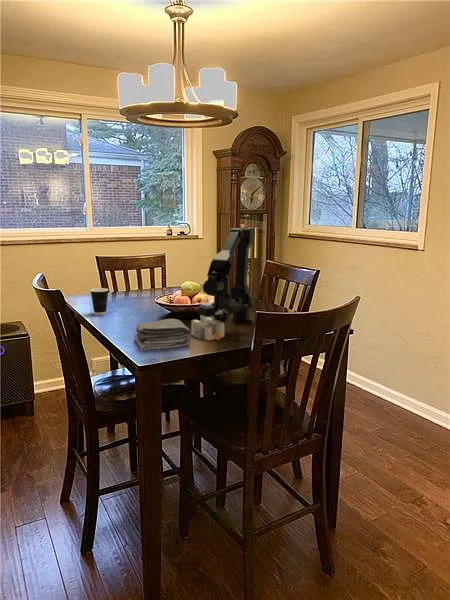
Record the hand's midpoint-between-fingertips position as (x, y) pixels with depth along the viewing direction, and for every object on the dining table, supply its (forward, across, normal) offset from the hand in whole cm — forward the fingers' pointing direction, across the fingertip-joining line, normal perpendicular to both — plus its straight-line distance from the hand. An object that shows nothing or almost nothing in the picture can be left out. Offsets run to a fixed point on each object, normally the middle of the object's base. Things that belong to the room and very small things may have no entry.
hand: (221, 330), depth 177 cm
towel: (+1, -25, +3) cm, 25 cm away
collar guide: (+1, -7, 0) cm, 7 cm away
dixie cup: (+1, -24, +58) cm, 63 cm away
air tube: (+1, -7, 0) cm, 7 cm away
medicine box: (+1, +5, +14) cm, 15 cm away
